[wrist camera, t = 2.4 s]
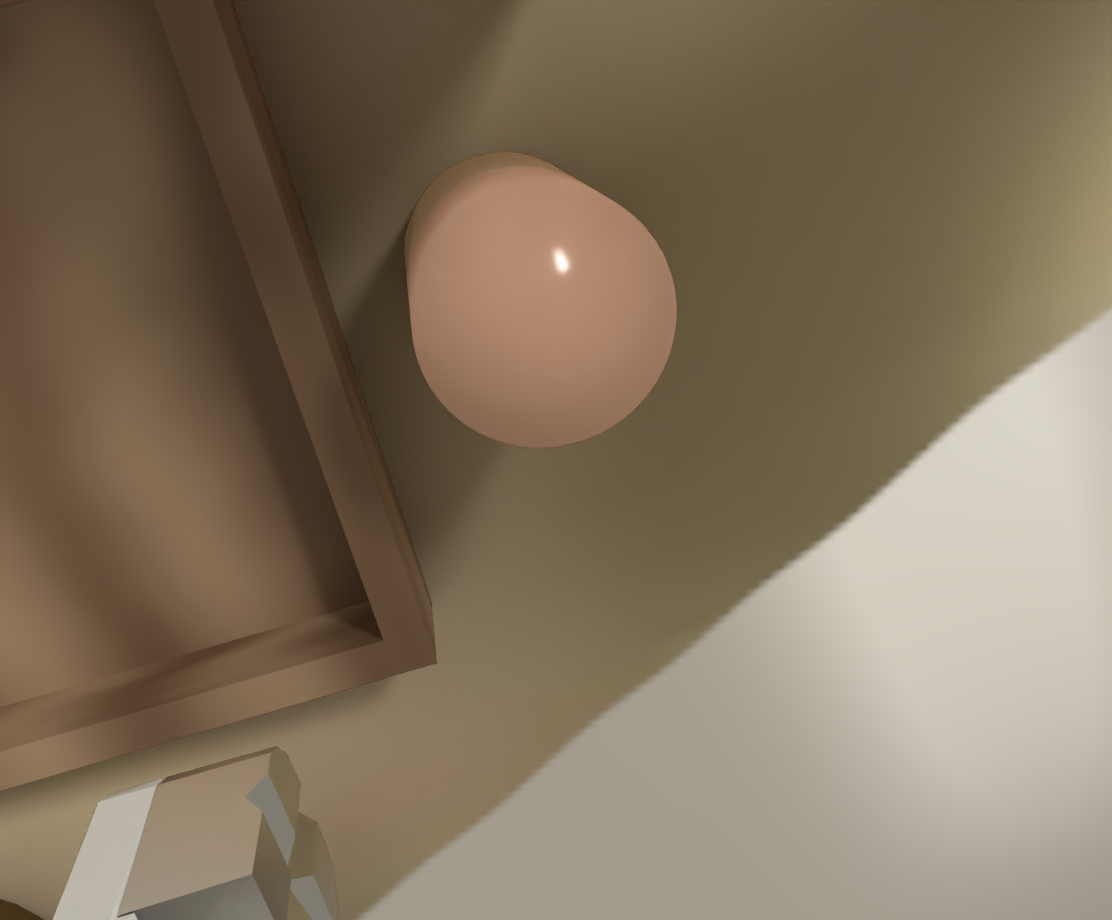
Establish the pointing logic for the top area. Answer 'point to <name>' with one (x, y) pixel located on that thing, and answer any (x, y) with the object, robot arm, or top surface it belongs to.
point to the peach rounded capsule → (535, 301)
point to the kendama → (15, 912)
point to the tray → (172, 403)
